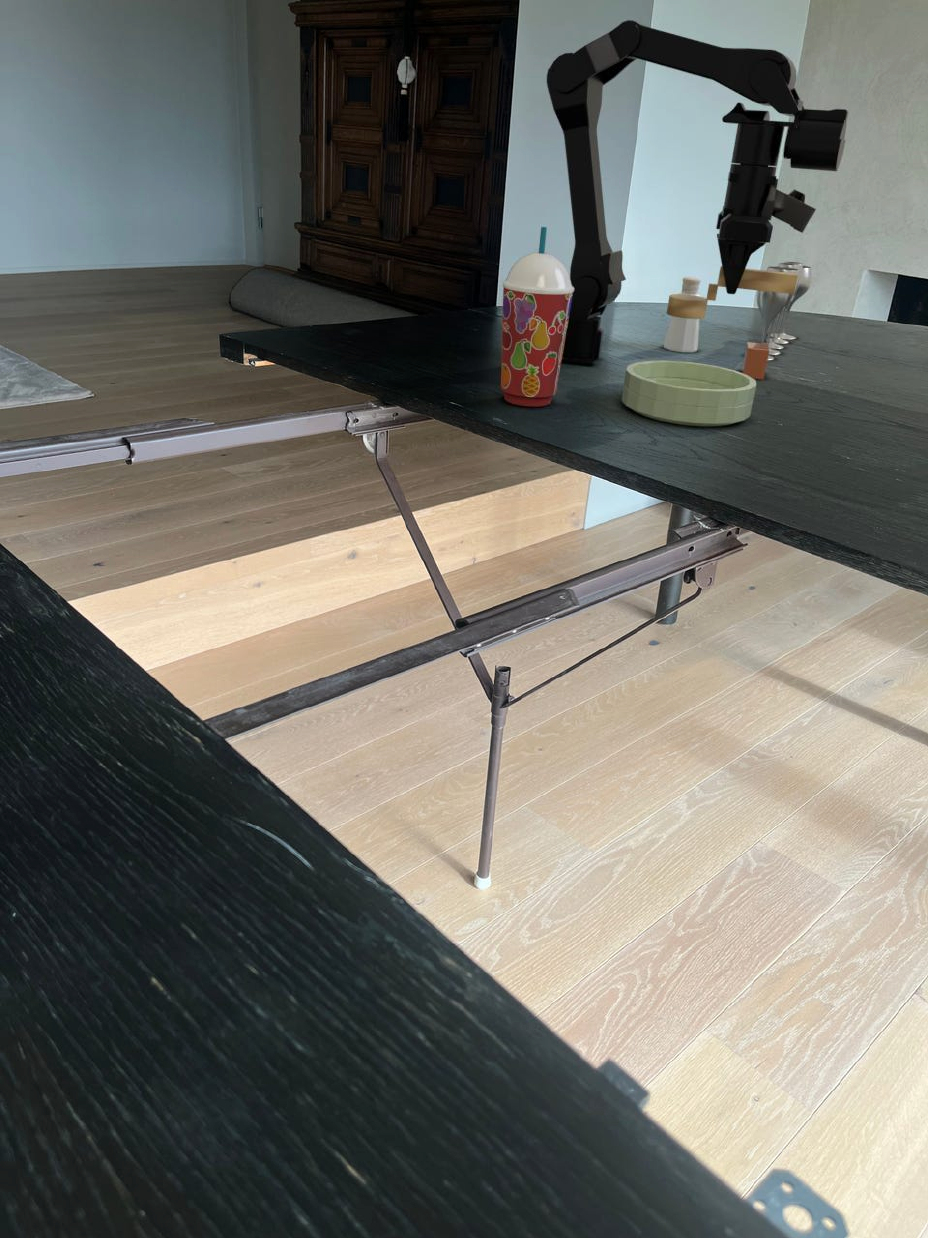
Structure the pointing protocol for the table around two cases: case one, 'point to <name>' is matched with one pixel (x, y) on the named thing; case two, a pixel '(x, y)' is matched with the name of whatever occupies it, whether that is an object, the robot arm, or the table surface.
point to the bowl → (688, 393)
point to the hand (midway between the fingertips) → (730, 292)
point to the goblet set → (781, 304)
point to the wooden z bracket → (750, 280)
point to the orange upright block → (755, 360)
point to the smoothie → (534, 327)
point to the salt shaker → (684, 324)
